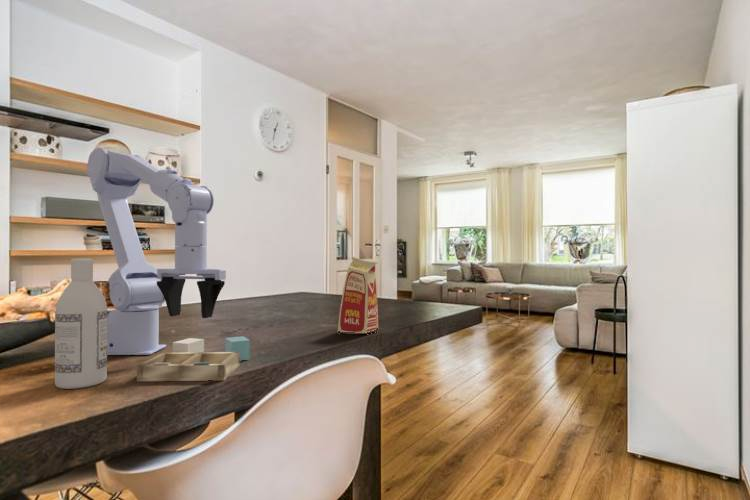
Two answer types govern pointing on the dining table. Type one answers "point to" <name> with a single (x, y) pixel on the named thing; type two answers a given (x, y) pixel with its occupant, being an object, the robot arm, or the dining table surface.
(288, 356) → the dining table surface
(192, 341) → the off-white plug
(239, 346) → the teal rectangular block
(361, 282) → the milk carton
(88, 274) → the bath foam
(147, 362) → the slot rack
